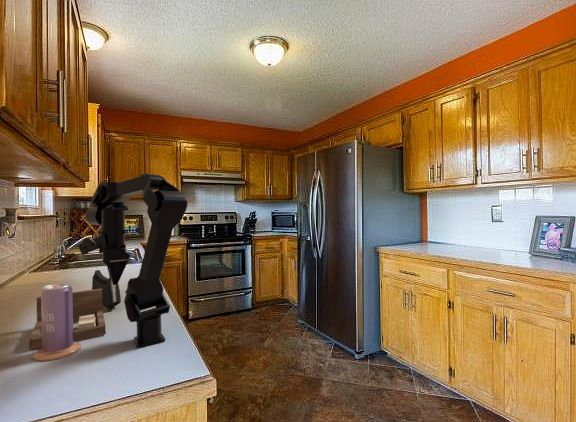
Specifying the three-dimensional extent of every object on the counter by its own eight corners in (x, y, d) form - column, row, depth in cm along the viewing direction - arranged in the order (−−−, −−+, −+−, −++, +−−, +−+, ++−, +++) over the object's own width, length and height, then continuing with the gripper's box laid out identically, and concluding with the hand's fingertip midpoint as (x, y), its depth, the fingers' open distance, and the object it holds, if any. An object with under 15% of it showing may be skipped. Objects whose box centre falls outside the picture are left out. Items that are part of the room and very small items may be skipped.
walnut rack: (105, 335, 83) (105, 301, 83) (28, 351, 74) (27, 313, 74) (102, 316, 98) (101, 288, 98) (37, 328, 90) (37, 297, 90)
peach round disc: (80, 353, 72) (80, 351, 72) (30, 365, 67) (30, 362, 67) (81, 341, 80) (81, 338, 80) (36, 350, 75) (36, 347, 75)
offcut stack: (95, 335, 84) (95, 322, 84) (77, 339, 82) (77, 325, 82) (95, 324, 92) (95, 312, 92) (79, 327, 90) (79, 315, 90)
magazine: (90, 272, 127) (106, 258, 106) (99, 271, 130) (116, 257, 108) (93, 315, 124) (111, 309, 102) (103, 313, 126) (121, 306, 105)
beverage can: (79, 343, 76) (78, 282, 76) (60, 355, 70) (59, 288, 70) (56, 344, 76) (54, 283, 77) (35, 355, 71) (33, 289, 71)
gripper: (78, 225, 91) (79, 278, 91) (79, 229, 76) (79, 293, 76) (121, 224, 97) (121, 273, 98) (130, 228, 82) (130, 286, 82)
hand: (113, 281), depth 88 cm, fingers open, 9 cm apart
